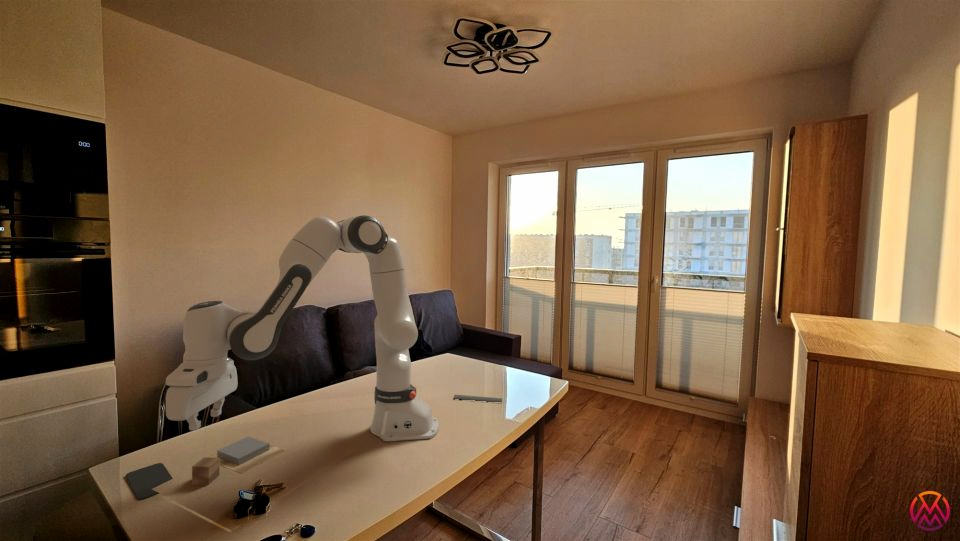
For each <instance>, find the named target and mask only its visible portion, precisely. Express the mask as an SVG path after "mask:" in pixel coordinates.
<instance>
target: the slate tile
mask: <svg viewBox="0 0 960 541" xmlns="http://www.w3.org/2000/svg"><path fill="white" fill-rule="evenodd" d="M269 445H270V443H269V442H265V441H263V440H260V439H257V438H254V437H251V436H247V437H243V438H242V439H240V440H238V441H235V442H233V443H230V444H229V445H226V446H224V447H221V448H219V449H218V450H217V452H216V454H217V457H219V458H221V459H224V460H227V461H229V462H232V463H234V464H237V465H240V464H242V463H244V462H246V461H248V460H250V459H252V458H254V457H256V456H258V455H260V454H262V453H264V452H266V451H268V450H269Z"/></svg>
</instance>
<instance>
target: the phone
mask: <svg viewBox="0 0 960 541" xmlns="http://www.w3.org/2000/svg"><path fill="white" fill-rule="evenodd" d="M126 478H127V479H126ZM173 478H174V477H172V475H171V474H170V472H169V471H168V469H167V468H166V466H165V465H164V464H163V463H162V462H157V463H153V464H151V465H150V464H149V465H148V466H144V467H141V468H139V469H135V470H132V471H129V472H127V473H126V474H125V479H126V482H127V483H128V482H129V483H128V486H131V487H130V488H131V490H132V492H133V494H134V496H135V497H136V498H135V499H136V500H138V501H143V500H146V499H149V498H152V497H155V496H157V495H159V494H160V493H159V492H158V491H156V490H154V489H156V488H157V487H159V486H161V485H163V484H165V483H167V482H169V481H171V480H174V479H173Z"/></svg>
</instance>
